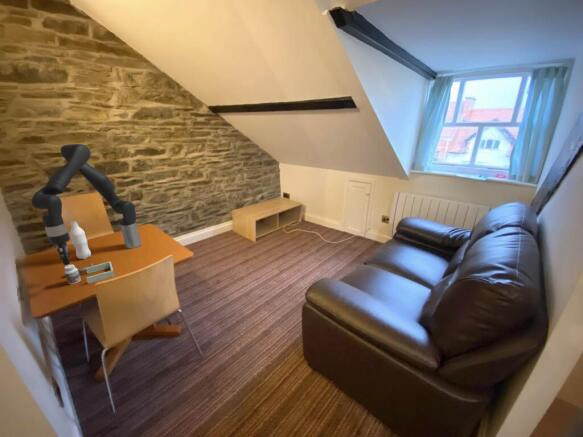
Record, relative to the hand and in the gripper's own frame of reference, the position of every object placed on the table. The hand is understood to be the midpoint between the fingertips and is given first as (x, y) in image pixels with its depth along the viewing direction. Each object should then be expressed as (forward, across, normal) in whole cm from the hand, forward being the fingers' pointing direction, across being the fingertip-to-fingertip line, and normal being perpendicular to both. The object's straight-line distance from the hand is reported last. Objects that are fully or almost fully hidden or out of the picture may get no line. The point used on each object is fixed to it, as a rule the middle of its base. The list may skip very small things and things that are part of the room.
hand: (67, 260), depth 127 cm
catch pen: (+13, 0, -11) cm, 17 cm away
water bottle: (+13, +29, -5) cm, 32 cm away
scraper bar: (+13, +9, -2) cm, 16 cm away
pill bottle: (+13, 0, 0) cm, 13 cm away
